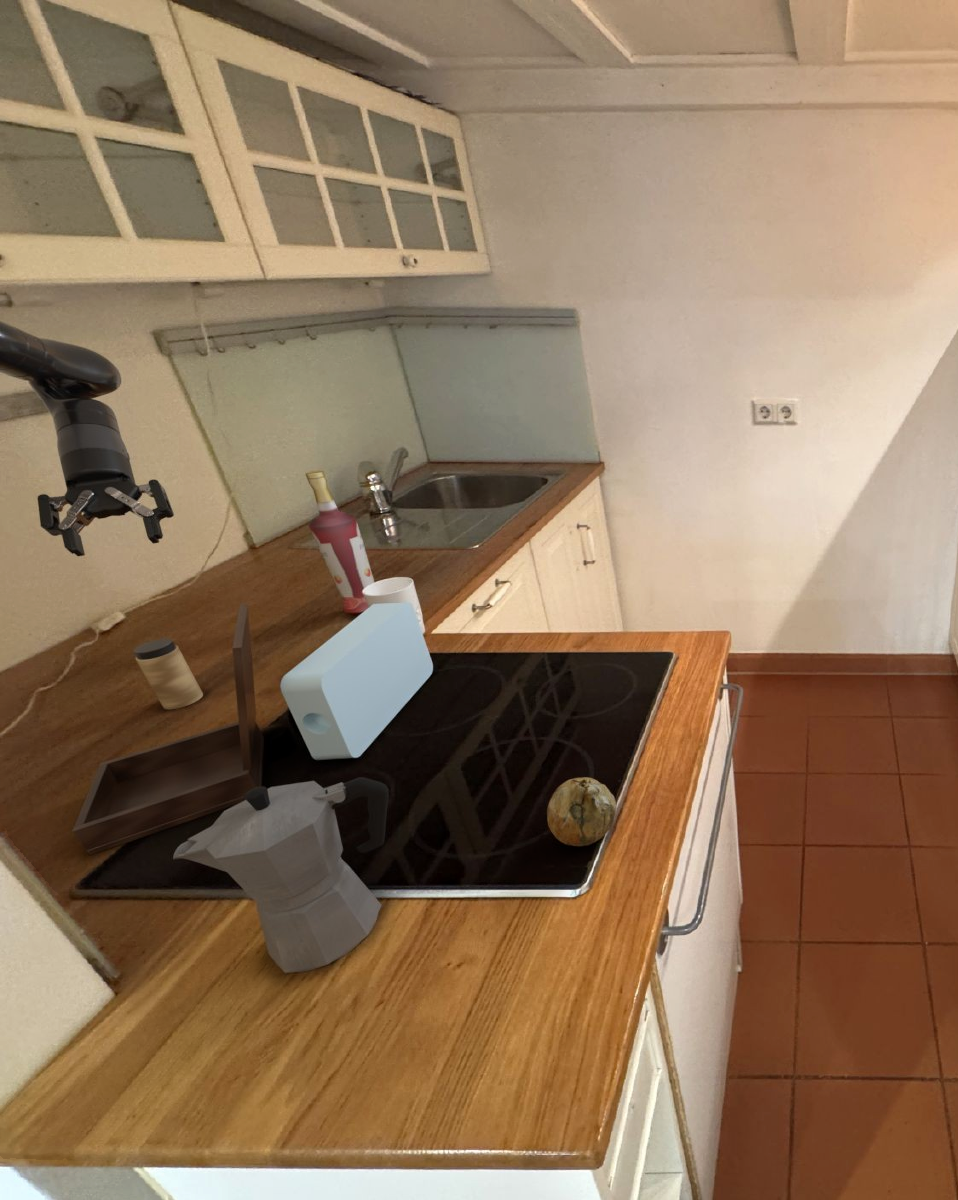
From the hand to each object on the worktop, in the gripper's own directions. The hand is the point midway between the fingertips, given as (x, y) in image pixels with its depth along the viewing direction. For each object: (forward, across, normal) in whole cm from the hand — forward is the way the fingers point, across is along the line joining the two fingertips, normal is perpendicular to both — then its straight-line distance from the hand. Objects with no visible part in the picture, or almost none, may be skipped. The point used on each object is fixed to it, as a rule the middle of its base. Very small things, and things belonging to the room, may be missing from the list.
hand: (117, 547), depth 101 cm
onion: (+72, +43, -40) cm, 93 cm away
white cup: (+23, +32, +9) cm, 41 cm away
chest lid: (+36, +14, -21) cm, 43 cm away
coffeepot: (+70, +19, -38) cm, 82 cm away
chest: (+44, +4, -12) cm, 46 cm away
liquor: (+11, +27, +21) cm, 36 cm away
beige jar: (+24, +1, +8) cm, 25 cm away
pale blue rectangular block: (+41, +26, -9) cm, 50 cm away
